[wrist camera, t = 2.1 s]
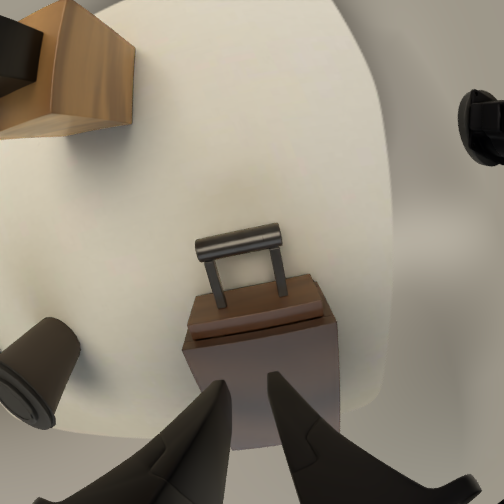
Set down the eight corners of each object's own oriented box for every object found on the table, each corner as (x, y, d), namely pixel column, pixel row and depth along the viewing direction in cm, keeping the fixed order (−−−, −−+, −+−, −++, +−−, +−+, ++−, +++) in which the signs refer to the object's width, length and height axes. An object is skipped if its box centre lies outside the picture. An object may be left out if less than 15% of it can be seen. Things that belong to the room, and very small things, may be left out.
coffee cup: (106, 366, 25) (68, 442, 15) (56, 371, 25) (18, 431, 16) (65, 297, 22) (3, 365, 12) (19, 311, 22) (-34, 366, 13)
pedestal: (135, 47, 15) (68, -5, 6) (132, 124, 17) (51, 113, 8) (68, 65, 15) (-14, 41, 6) (64, 136, 17) (-26, 143, 8)
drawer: (176, 235, 19) (162, 255, 16) (299, 209, 19) (312, 224, 15) (233, 398, 25) (232, 429, 21) (322, 382, 24) (330, 412, 21)
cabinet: (194, 305, 22) (181, 350, 17) (317, 281, 22) (337, 321, 16) (233, 406, 26) (232, 450, 21) (327, 389, 26) (340, 432, 21)
